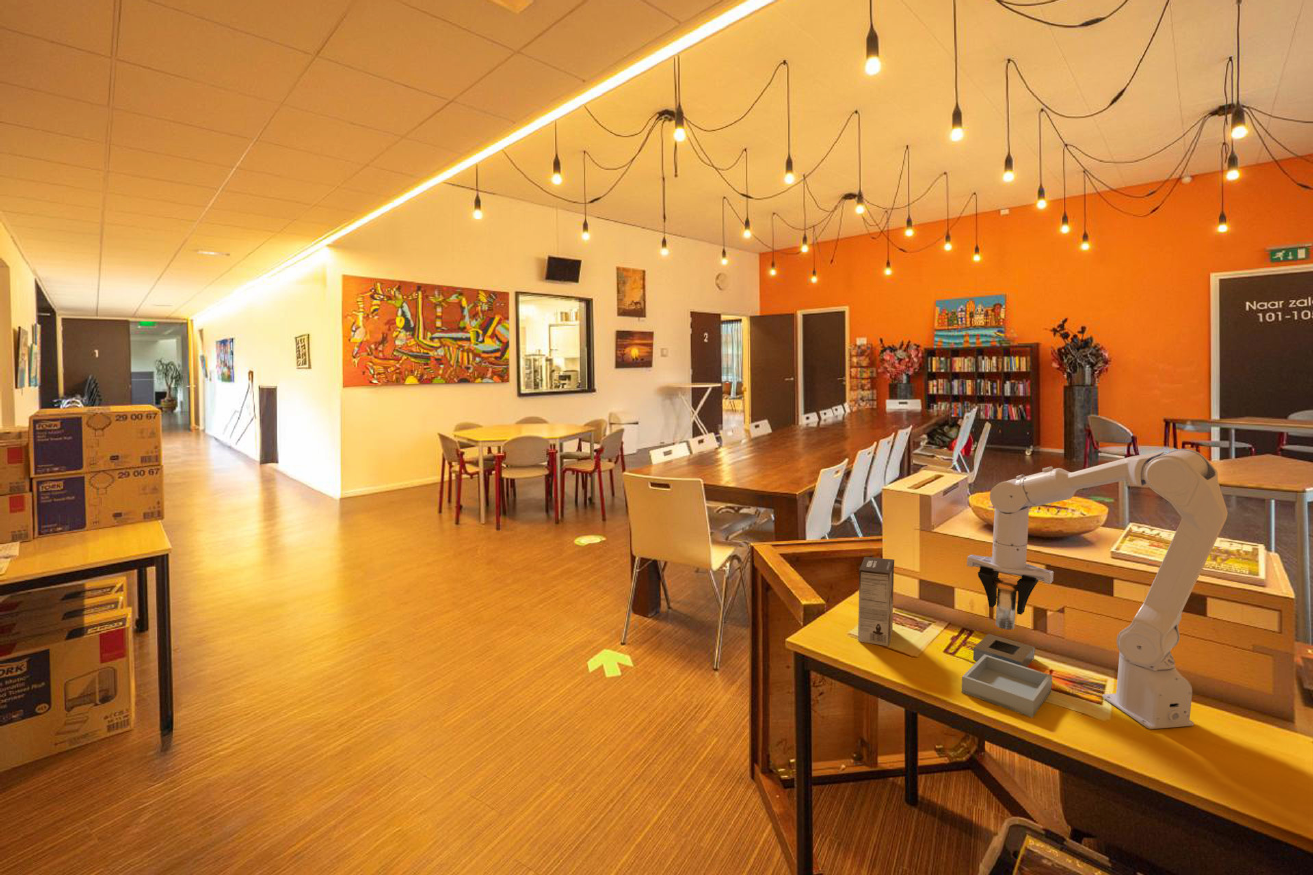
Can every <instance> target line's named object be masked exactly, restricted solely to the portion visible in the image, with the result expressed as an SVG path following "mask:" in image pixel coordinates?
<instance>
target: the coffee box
mask: <svg viewBox="0 0 1313 875" xmlns="http://www.w3.org/2000/svg"><path fill="white" fill-rule="evenodd" d="M858 570H859V571H858V573H859V574H858V580H859V581H858V619H857V620H858V622H857V623H858V624H857V625H858V626H857V629H858V630H857V638H858V639H857V640H858V642H859V643H867V644H872V645H873V644H874V645H880V646H884V647H889V646H888V645H890V643H891V642H890V641H891V637H892V633H893V623H894V621H893V619H894V615H893V614H894V611H893V610H894V585H895V583H894V580H895V575H894V573H895V572H894V571H895V559H890V558H881V557H871V556H870V557H869V556H864V557H863V560H862V562H861V565H860V567H859V569H858Z"/></svg>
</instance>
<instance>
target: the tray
mask: <svg viewBox="0 0 1313 875" xmlns="http://www.w3.org/2000/svg"><path fill="white" fill-rule="evenodd" d="M961 678H962V679H961V693H963V694H965V695H968V696H971V697H973V698H976V699H980V700H982V701H984V702H988V703H990V704H993V705H996V706H998V707H1002V708H1005V709H1006V710H1007V709H1008V710H1010V711H1012V712H1015V713H1018V714H1021V715H1024V716H1026V717H1028V718H1031V719H1032V718H1034V716H1035V715H1036V713H1037V712H1039V709H1040V708H1041V706H1042V705H1043V703H1045V701H1046V699H1047V698H1048V697H1049V695H1050V693H1051V692H1052V685H1053V675H1052V674H1050V673H1046V672H1042V671H1040V670H1036V669H1033V668H1030V667H1024V666H1021V665H1017V664H1014V663H1011V662H1008V661H1004V660H1001V659H998V658H995V657H992V656H988V655H985V654H984V655H983V656H982V657H981V658H980V659H979V660H978V661H976V662H975V663H974V664H973V665H972V666H971V667H970V668H969V669H968V670H967V671H966V672H965V673H964V674H963V675H962V677H961Z"/></svg>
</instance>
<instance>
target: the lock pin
mask: <svg viewBox="0 0 1313 875" xmlns="http://www.w3.org/2000/svg"><path fill="white" fill-rule="evenodd" d="M1017 581H1018V579H1017V580H1016V579H1014V578H1011V577H998V578H996V579H994V586H995V587H996V588H997V601H996V610H995V612H996V613H995V626H996V627H997V628H999V629H1002V630H1008V631H1009V630H1013V629H1015V625H1016V623H1015V622H1016V611H1017V597H1018V587H1017Z"/></svg>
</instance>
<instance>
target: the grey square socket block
mask: <svg viewBox="0 0 1313 875" xmlns="http://www.w3.org/2000/svg"><path fill="white" fill-rule="evenodd" d="M1035 650H1036V647H1035V646H1033V645H1030V644H1027V643H1024V642H1023V643H1022V642H1019V641H1017V640H1011V639H1009V638H1006V637H1001V636H999V635H995V634H991V633H987V634H986V635H985V637H984V638H982V639H981V640H980V641H979V642H978V643H977V644H976V645H975V646H974V647H973V654H972V655H973V658H972V659H973V661H976V662H977V661H978V660H979V659H980V658H981V657H982V656H983V655H984V654H985V655H988V656H992V657H995V658H998V659H1001V660H1004V661H1008V662H1011V663H1014V664H1017V665H1021V666H1024V667H1027V668H1029V666H1028V665H1030V664H1031V663H1032V662H1033V661H1034V659H1035ZM1032 660H1033V661H1032Z"/></svg>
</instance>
